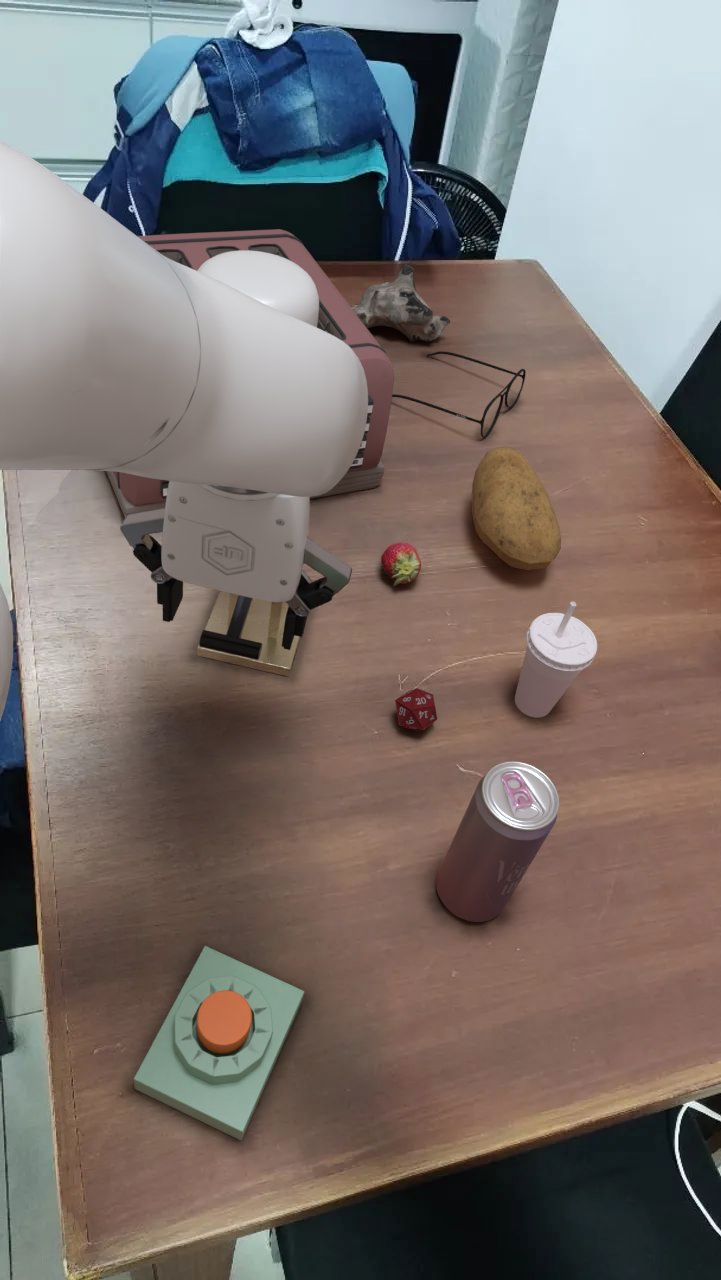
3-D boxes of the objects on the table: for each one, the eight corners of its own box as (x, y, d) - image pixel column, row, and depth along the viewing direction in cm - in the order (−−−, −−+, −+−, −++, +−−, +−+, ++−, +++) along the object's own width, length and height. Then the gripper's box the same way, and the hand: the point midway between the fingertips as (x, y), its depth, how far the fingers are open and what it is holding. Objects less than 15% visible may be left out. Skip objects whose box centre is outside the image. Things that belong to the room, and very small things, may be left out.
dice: (400, 745, 84) (408, 719, 81) (386, 706, 86) (393, 680, 84) (438, 739, 85) (448, 713, 82) (423, 701, 88) (431, 675, 85)
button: (235, 1063, 60) (236, 1054, 59) (186, 1040, 61) (187, 1031, 59) (259, 1012, 63) (260, 1003, 61) (212, 990, 63) (212, 981, 62)
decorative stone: (338, 342, 126) (350, 267, 121) (331, 323, 134) (342, 251, 128) (449, 356, 130) (465, 283, 124) (436, 337, 137) (451, 267, 131)
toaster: (138, 560, 94) (132, 421, 81) (60, 364, 115) (46, 228, 102) (397, 512, 106) (428, 383, 93) (285, 341, 126) (297, 217, 113)
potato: (483, 593, 99) (507, 529, 92) (450, 499, 109) (468, 435, 102) (557, 592, 101) (585, 529, 94) (517, 499, 111) (540, 436, 104)
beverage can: (488, 851, 78) (540, 751, 67) (517, 915, 74) (577, 822, 63) (424, 866, 76) (466, 766, 65) (450, 933, 72) (500, 840, 61)
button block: (241, 1141, 60) (244, 1125, 58) (134, 1088, 62) (132, 1070, 59) (301, 1001, 67) (307, 981, 64) (204, 957, 68) (205, 934, 65)
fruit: (411, 555, 101) (420, 522, 97) (421, 595, 97) (430, 561, 93) (373, 555, 100) (381, 521, 96) (382, 594, 96) (390, 560, 93)
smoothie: (499, 673, 91) (540, 574, 81) (560, 681, 92) (609, 583, 82) (503, 725, 87) (547, 627, 77) (568, 732, 88) (620, 636, 77)
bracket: (289, 676, 87) (305, 565, 76) (197, 655, 87) (200, 541, 76) (312, 597, 94) (330, 485, 84) (227, 578, 94) (234, 463, 84)
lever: (258, 665, 76) (258, 652, 74) (199, 651, 76) (198, 639, 74) (297, 528, 83) (298, 513, 81) (243, 516, 83) (243, 501, 81)
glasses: (479, 445, 117) (485, 411, 113) (377, 410, 122) (380, 376, 118) (522, 397, 126) (528, 363, 122) (426, 366, 131) (429, 333, 127)
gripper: (97, 451, 58) (109, 632, 71) (361, 512, 58) (327, 682, 71) (136, 389, 63) (141, 568, 76) (379, 445, 63) (344, 615, 76)
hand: (231, 623), depth 73 cm, fingers open, 9 cm apart
